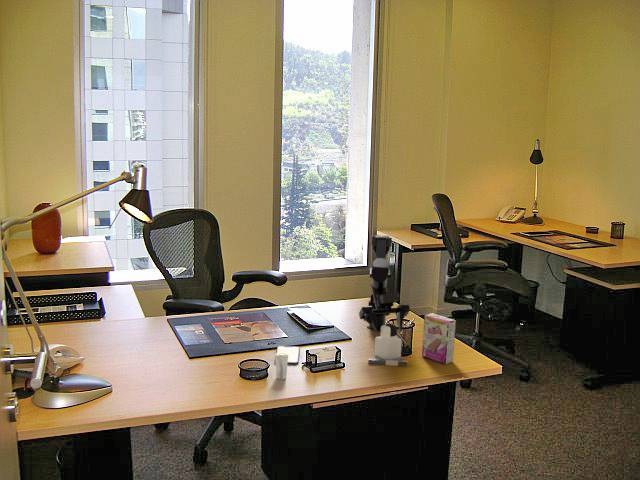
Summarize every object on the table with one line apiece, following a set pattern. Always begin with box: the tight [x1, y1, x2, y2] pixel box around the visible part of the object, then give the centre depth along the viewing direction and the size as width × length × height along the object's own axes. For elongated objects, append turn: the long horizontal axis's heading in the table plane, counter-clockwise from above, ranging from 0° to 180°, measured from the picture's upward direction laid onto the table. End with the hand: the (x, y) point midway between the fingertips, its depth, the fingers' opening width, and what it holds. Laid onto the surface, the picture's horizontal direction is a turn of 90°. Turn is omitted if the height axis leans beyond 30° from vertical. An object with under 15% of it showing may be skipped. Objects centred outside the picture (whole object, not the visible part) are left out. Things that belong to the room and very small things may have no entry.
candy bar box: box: [421, 312, 457, 365], centre depth 261 cm, size 11×5×16 cm, turn 44°
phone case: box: [274, 345, 301, 366], centre depth 261 cm, size 9×2×16 cm
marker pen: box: [367, 358, 408, 367], centre depth 256 cm, size 2×14×2 cm, turn 84°
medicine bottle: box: [374, 323, 403, 360], centre depth 262 cm, size 7×7×12 cm
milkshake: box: [273, 351, 288, 381], centre depth 240 cm, size 4×5×10 cm
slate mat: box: [374, 354, 402, 360], centre depth 263 cm, size 10×10×1 cm
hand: (389, 331), depth 261 cm, fingers open, 9 cm apart
